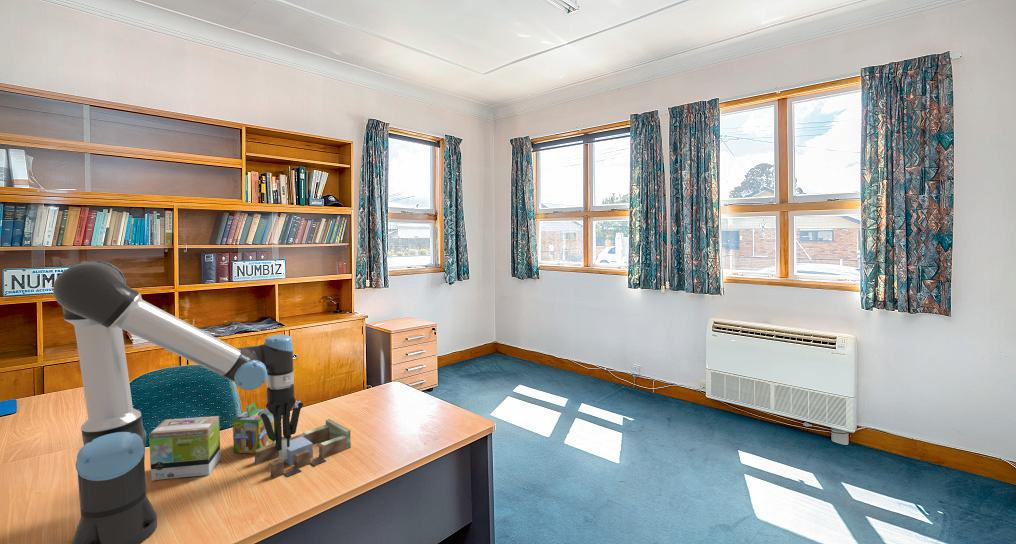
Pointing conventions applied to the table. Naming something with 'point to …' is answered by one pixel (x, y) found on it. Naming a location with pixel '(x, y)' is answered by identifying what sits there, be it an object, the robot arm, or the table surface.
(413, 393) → the table surface
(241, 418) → the chalk box
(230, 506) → the table surface
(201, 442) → the tea box
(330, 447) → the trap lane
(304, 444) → the block
